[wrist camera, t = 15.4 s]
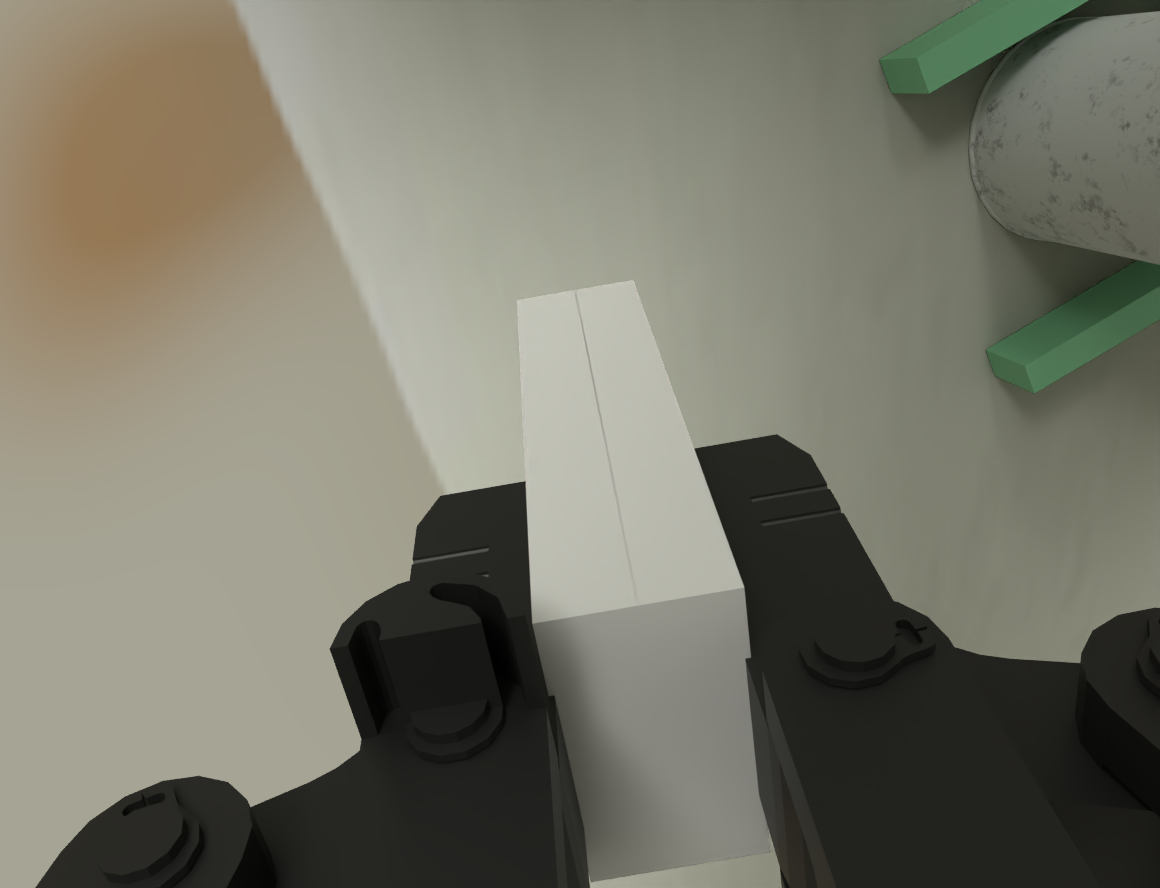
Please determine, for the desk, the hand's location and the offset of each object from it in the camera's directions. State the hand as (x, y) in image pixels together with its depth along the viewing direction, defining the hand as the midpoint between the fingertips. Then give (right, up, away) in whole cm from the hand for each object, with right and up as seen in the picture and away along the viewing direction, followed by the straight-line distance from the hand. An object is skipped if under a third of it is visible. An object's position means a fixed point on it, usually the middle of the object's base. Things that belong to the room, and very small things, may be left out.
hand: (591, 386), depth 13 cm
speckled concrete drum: (+21, +13, +32) cm, 41 cm away
